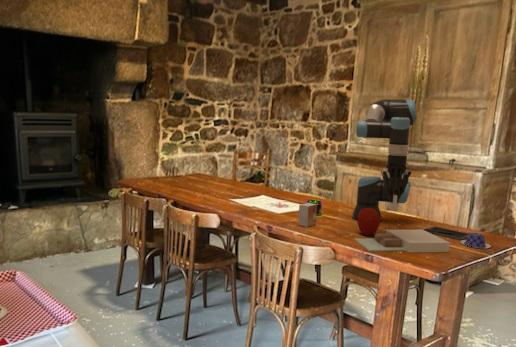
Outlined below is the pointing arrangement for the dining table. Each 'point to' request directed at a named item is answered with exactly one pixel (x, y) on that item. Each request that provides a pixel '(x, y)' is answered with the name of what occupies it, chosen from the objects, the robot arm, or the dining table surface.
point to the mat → (376, 245)
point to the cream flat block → (420, 241)
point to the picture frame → (447, 233)
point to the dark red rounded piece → (368, 221)
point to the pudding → (475, 241)
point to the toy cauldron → (317, 206)
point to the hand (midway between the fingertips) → (392, 209)
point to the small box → (307, 214)
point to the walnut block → (387, 240)
